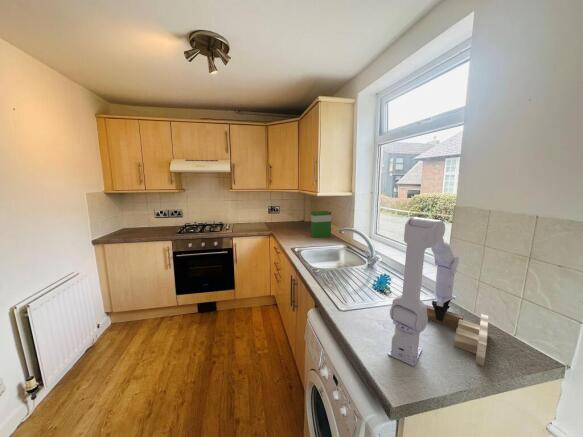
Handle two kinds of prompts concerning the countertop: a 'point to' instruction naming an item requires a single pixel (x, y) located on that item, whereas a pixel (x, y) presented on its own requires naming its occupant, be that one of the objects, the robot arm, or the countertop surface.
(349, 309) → the countertop surface
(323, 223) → the hardback book
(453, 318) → the bed rail
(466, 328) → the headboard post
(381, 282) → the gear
